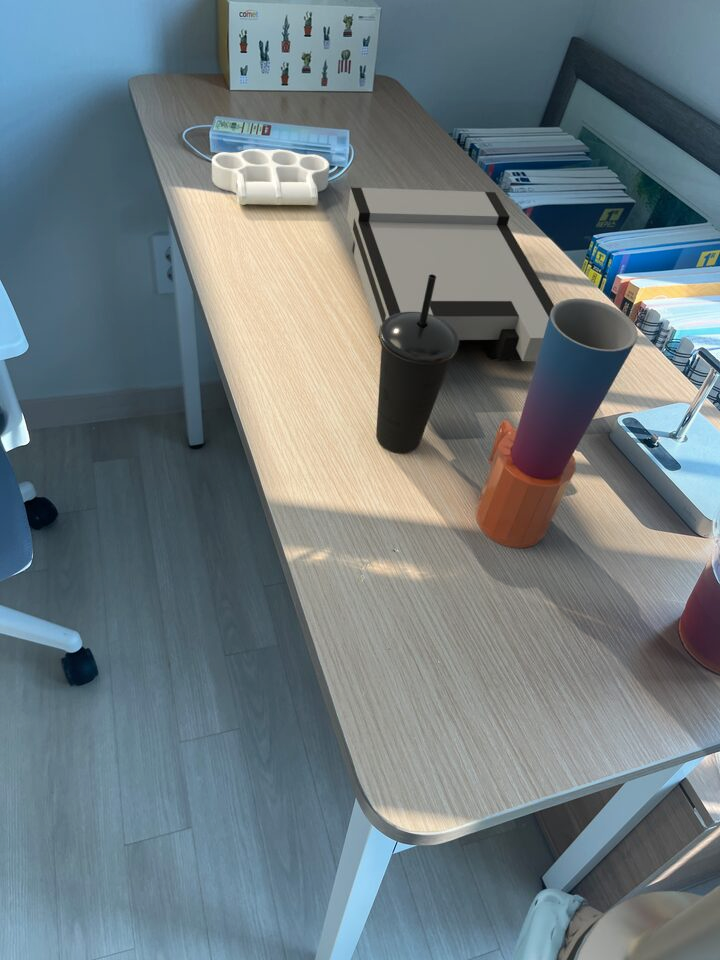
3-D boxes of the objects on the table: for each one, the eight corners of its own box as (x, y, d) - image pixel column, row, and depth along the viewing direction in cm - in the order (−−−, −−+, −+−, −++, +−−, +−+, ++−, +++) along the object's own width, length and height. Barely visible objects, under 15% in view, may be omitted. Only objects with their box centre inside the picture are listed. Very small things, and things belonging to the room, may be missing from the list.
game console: (387, 388, 87) (398, 329, 81) (344, 242, 108) (350, 187, 102) (554, 384, 91) (576, 328, 85) (481, 244, 112) (495, 192, 107)
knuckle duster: (217, 210, 110) (209, 164, 120) (337, 211, 114) (321, 166, 124) (216, 188, 108) (208, 143, 117) (340, 190, 112) (322, 146, 121)
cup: (584, 454, 70) (648, 320, 59) (559, 498, 66) (623, 363, 55) (517, 423, 72) (567, 288, 61) (489, 464, 68) (537, 326, 57)
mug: (558, 542, 74) (589, 481, 68) (491, 552, 72) (516, 490, 66) (517, 467, 81) (541, 404, 74) (455, 475, 79) (474, 411, 72)
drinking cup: (400, 404, 86) (433, 245, 71) (447, 444, 82) (492, 285, 68) (348, 430, 82) (372, 267, 67) (395, 473, 78) (431, 310, 64)
